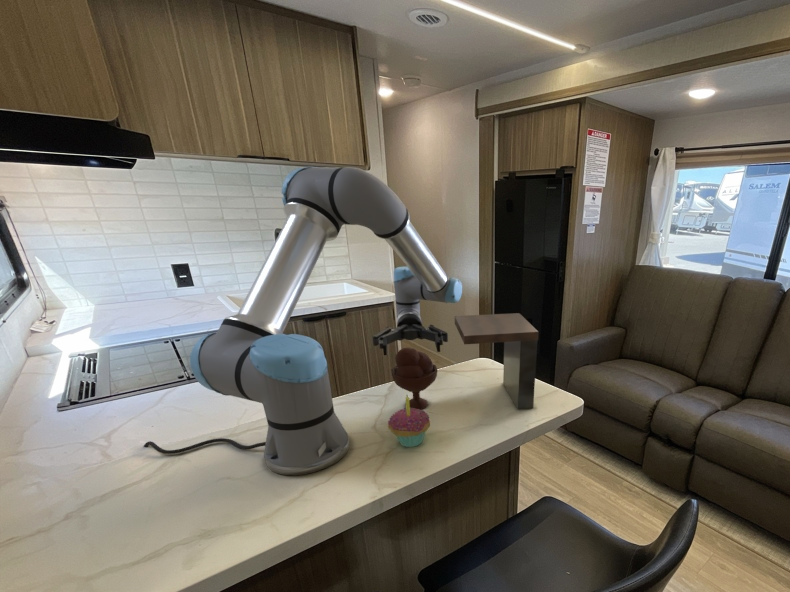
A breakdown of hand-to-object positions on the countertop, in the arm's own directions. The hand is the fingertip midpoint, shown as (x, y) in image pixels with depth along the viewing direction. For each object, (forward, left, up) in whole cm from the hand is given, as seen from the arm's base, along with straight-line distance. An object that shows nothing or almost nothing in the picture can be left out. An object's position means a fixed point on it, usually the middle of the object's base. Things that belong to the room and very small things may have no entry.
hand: (412, 348), depth 103 cm
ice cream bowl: (0, -10, -12) cm, 15 cm away
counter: (+20, -9, -11) cm, 25 cm away
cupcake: (-2, -25, -12) cm, 28 cm away
